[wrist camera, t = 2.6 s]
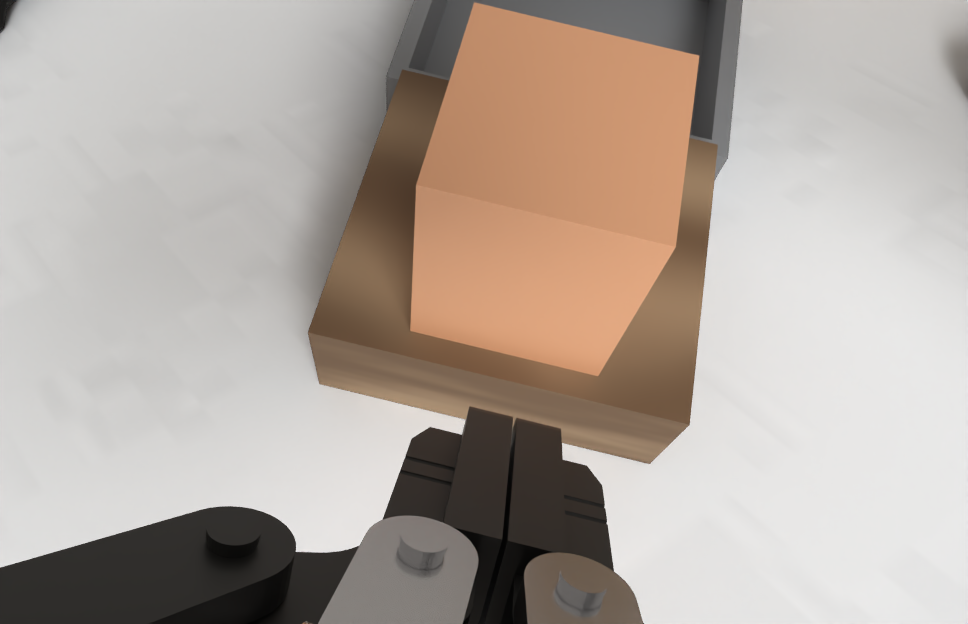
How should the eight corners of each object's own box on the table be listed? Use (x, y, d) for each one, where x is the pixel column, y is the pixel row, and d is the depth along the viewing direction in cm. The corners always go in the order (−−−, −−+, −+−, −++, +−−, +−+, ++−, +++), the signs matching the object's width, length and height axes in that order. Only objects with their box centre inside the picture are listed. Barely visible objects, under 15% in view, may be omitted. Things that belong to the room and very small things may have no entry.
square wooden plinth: (649, 463, 33) (689, 424, 28) (319, 384, 33) (307, 332, 29) (681, 209, 39) (717, 144, 34) (401, 142, 39) (402, 69, 35)
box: (697, 208, 39) (727, 158, 35) (387, 134, 39) (386, 76, 36) (720, 3, 46) (747, -57, 42) (455, -60, 46) (460, -125, 42)
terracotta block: (598, 376, 29) (676, 247, 21) (410, 331, 29) (416, 184, 21) (623, 219, 32) (699, 55, 24) (454, 179, 32) (474, 2, 24)
